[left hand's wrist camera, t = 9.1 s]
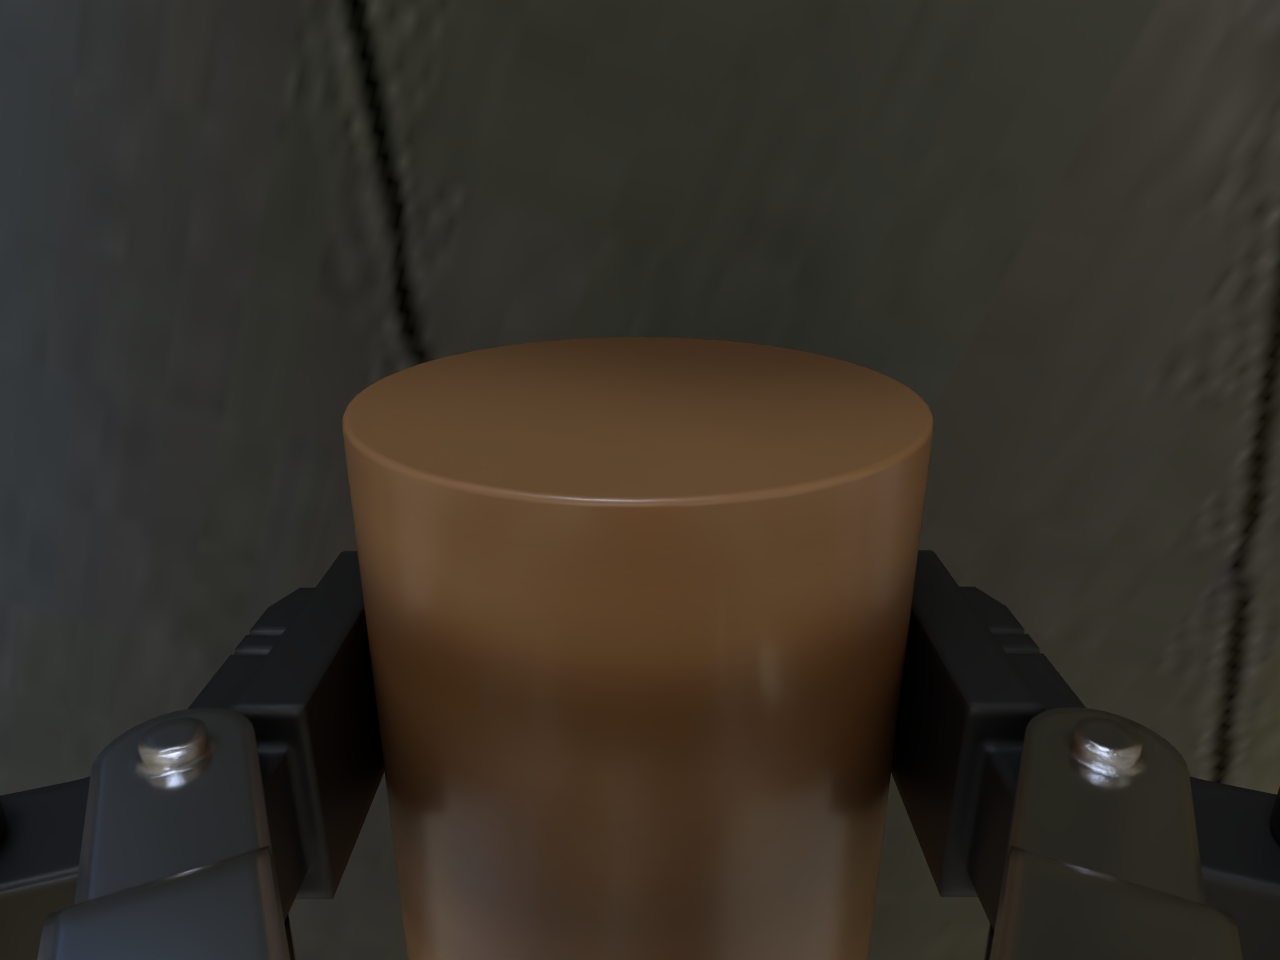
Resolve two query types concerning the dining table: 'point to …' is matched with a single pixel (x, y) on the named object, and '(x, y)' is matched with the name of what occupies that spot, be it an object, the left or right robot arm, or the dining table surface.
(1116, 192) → the dining table surface
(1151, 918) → the left robot arm
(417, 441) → the rod
